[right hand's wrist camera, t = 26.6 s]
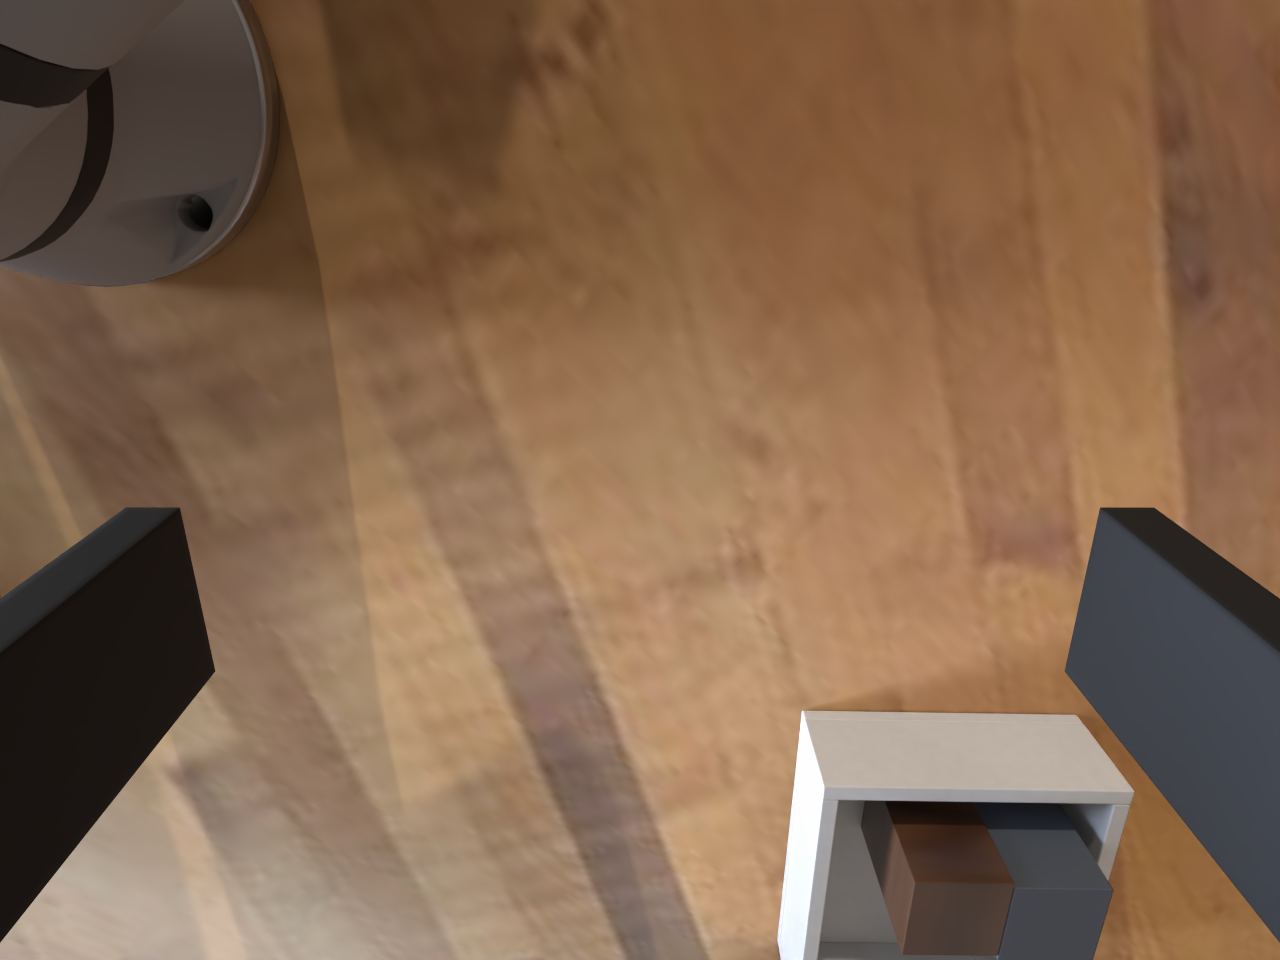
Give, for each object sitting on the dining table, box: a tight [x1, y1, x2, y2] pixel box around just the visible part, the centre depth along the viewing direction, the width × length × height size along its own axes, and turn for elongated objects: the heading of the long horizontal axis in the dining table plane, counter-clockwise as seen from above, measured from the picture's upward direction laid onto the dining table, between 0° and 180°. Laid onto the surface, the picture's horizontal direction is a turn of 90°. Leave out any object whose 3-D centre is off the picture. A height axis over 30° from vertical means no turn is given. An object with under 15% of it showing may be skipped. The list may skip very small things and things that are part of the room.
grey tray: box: [778, 711, 1134, 960], centre depth 48 cm, size 29×15×6 cm, turn 179°
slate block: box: [974, 802, 1113, 960], centre depth 43 cm, size 4×4×8 cm
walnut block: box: [861, 800, 1015, 956], centre depth 43 cm, size 4×4×8 cm
